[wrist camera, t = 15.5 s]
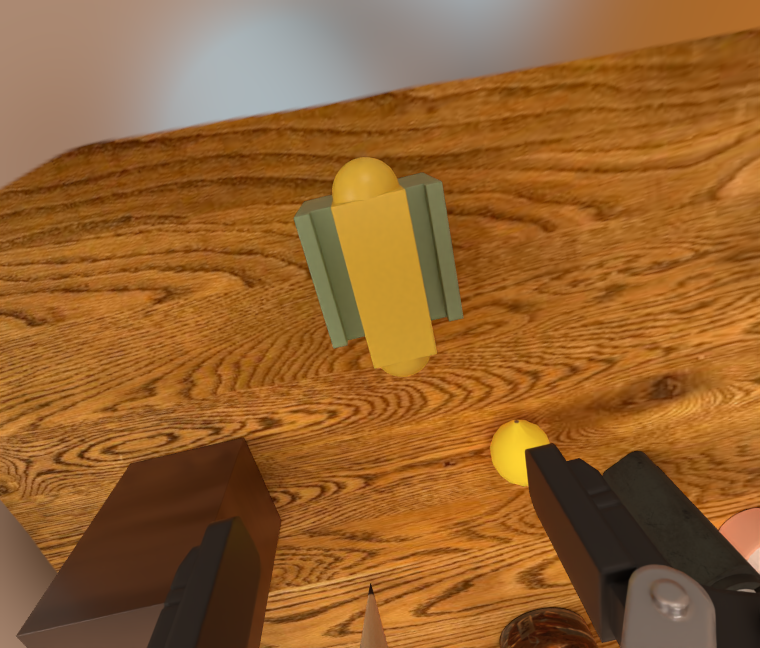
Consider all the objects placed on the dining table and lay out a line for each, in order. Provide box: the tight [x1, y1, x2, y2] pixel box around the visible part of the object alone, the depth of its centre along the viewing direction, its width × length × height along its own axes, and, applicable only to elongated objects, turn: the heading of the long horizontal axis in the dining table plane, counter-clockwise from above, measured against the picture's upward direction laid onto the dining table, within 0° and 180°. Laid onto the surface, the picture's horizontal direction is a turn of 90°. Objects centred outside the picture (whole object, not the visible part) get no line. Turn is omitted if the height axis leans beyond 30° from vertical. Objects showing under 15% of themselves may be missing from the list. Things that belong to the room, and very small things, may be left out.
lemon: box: [490, 420, 550, 487], centre depth 39 cm, size 7×5×5 cm
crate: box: [16, 438, 281, 648], centre depth 35 cm, size 11×11×15 cm
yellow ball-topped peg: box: [331, 157, 437, 377], centre depth 26 cm, size 14×4×4 cm, turn 13°
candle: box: [603, 451, 760, 593], centre depth 33 cm, size 5×5×25 cm
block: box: [294, 173, 463, 348], centre depth 30 cm, size 9×9×7 cm
